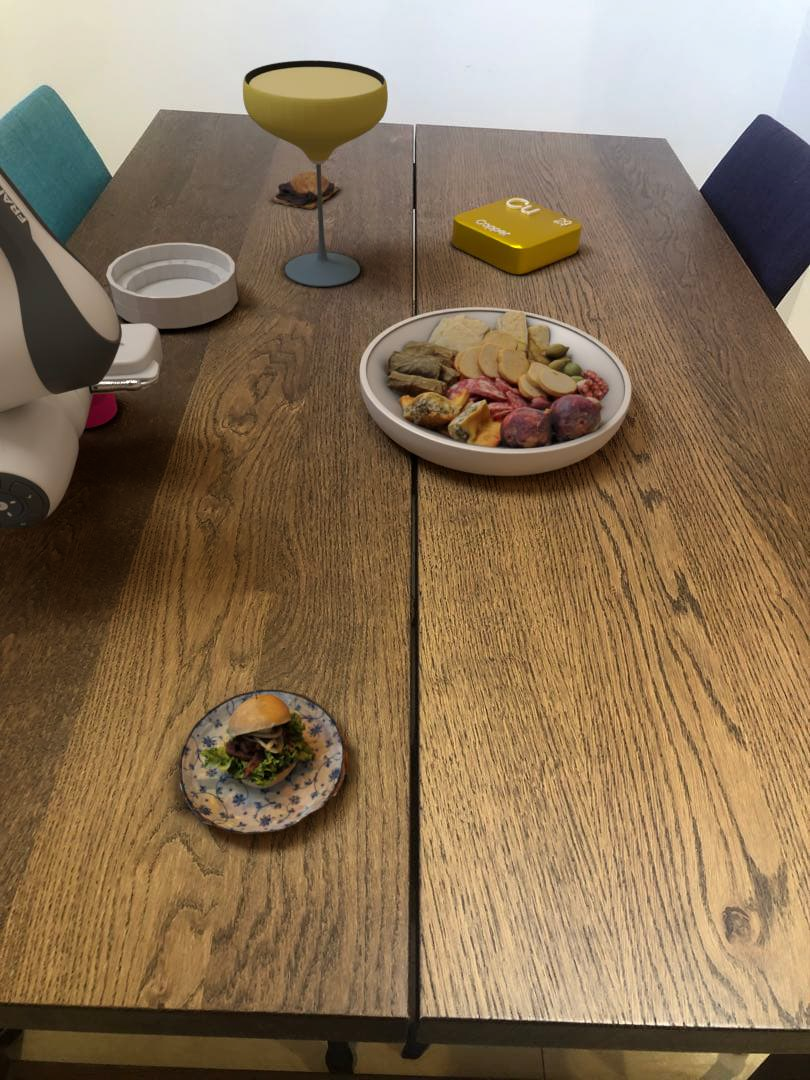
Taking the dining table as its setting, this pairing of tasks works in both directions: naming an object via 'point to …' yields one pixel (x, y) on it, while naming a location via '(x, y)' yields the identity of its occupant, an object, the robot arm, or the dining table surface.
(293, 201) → the topped cracker
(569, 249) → the element tile
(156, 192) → the dining table surface
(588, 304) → the dining table surface
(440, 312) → the bowl
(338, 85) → the cocktail glass
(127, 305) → the white ledged dish
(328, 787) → the burger
